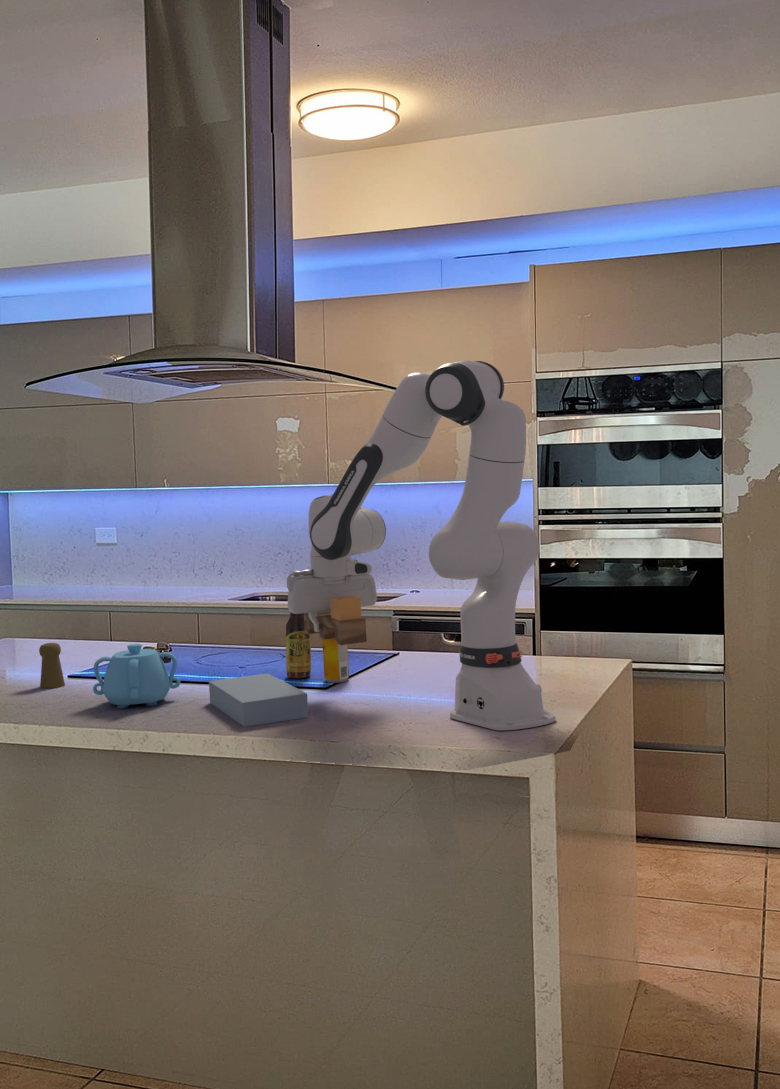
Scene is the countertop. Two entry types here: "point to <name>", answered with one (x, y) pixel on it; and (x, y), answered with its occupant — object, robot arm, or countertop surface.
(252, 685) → the block
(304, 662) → the sauce bottle
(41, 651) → the cork
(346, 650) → the beer can
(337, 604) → the orange crate
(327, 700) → the countertop surface
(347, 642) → the walnut pallet
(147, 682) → the decorative pot
